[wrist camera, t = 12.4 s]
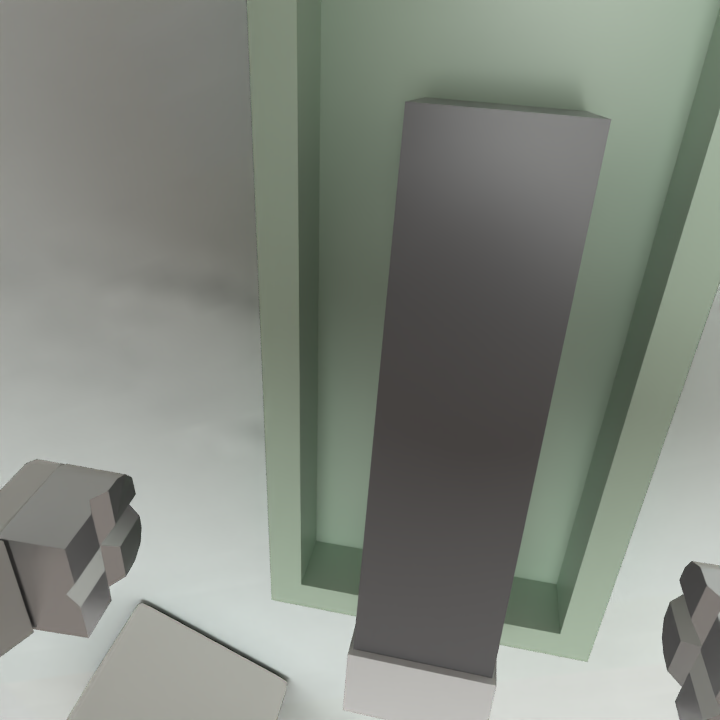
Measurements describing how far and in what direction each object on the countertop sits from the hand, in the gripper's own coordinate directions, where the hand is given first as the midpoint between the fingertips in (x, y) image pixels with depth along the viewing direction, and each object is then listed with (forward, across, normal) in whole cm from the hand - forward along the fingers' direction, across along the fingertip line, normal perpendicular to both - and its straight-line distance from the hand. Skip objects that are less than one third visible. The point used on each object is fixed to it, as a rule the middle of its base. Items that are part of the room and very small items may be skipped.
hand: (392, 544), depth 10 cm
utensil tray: (+9, -1, 0) cm, 9 cm away
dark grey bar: (+8, -1, +3) cm, 8 cm away
